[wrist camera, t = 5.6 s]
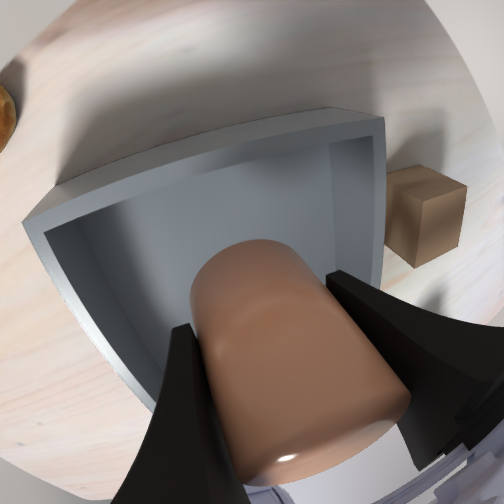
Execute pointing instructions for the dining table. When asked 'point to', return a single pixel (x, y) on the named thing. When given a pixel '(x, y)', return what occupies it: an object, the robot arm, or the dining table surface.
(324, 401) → the terracotta cylinder
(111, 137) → the dining table surface
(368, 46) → the dining table surface
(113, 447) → the dining table surface
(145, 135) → the dining table surface
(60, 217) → the tote
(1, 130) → the pastry
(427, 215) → the walnut block
